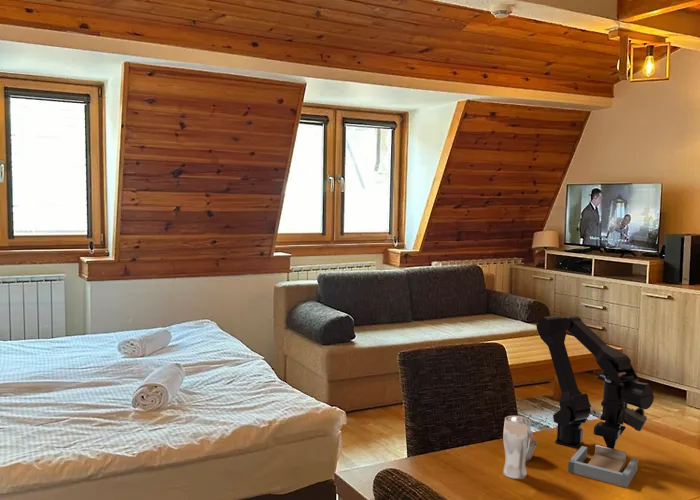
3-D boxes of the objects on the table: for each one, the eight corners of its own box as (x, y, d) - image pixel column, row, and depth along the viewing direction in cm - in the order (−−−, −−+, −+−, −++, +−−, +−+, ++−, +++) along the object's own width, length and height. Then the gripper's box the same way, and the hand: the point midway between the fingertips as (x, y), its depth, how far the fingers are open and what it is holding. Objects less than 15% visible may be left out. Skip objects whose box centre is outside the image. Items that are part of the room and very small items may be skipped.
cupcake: (521, 448, 185) (523, 415, 184) (543, 460, 177) (545, 426, 176) (496, 453, 181) (497, 419, 180) (517, 466, 173) (519, 430, 172)
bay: (567, 471, 170) (568, 461, 170) (581, 455, 181) (582, 445, 181) (627, 487, 161) (627, 476, 161) (637, 469, 172) (638, 459, 172)
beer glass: (513, 482, 163) (516, 426, 162) (496, 471, 169) (498, 417, 168) (533, 477, 166) (536, 422, 165) (515, 466, 172) (518, 413, 171)
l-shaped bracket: (586, 470, 171) (587, 456, 171) (595, 458, 179) (596, 444, 179) (617, 478, 167) (618, 463, 166) (625, 465, 175) (626, 451, 175)
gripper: (638, 413, 164) (635, 471, 166) (651, 395, 179) (647, 447, 181) (594, 405, 170) (591, 460, 172) (609, 388, 186) (607, 438, 187)
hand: (611, 451), depth 178 cm, fingers closed
